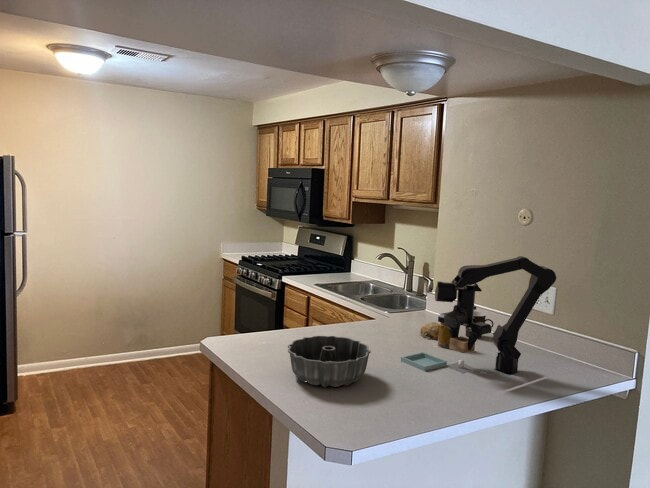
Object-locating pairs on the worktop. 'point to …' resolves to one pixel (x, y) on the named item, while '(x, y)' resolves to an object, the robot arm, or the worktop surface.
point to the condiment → (443, 337)
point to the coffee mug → (478, 318)
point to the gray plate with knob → (461, 367)
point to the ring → (460, 344)
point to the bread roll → (430, 331)
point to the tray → (423, 361)
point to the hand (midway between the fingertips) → (461, 347)
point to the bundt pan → (328, 360)
